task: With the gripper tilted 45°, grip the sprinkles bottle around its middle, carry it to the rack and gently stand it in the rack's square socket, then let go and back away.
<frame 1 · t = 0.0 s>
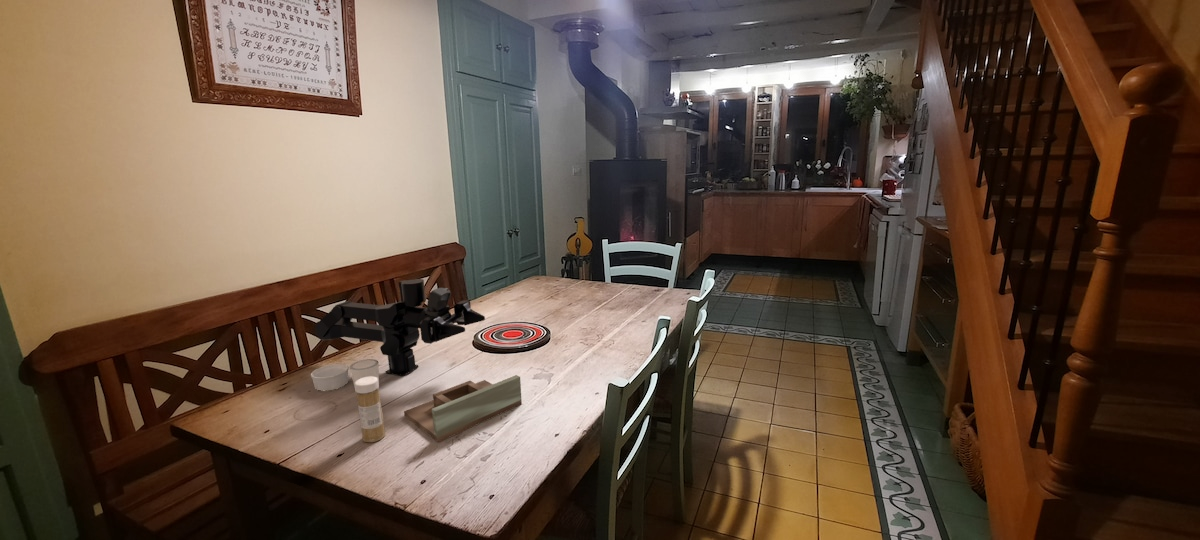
hand: (474, 323, 127), 17 cm above the table, tool horizontal, fingers open, 9 cm apart
ramekin: (332, 385, 131), on the table
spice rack: (464, 409, 116), on the table
sprinkles bottle: (374, 438, 106), on the table
shot glass: (367, 389, 128), on the table
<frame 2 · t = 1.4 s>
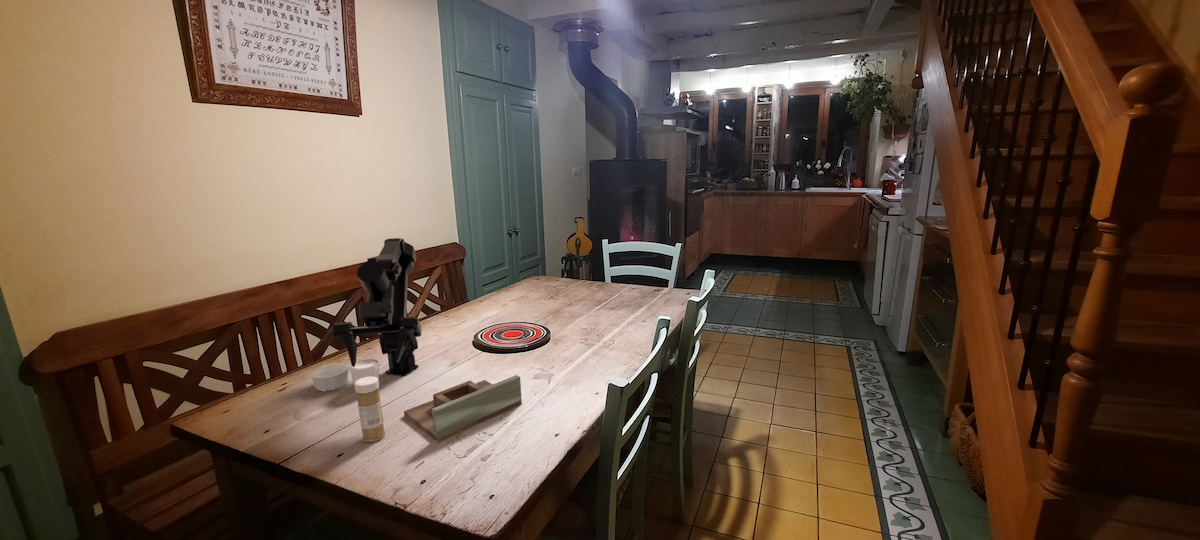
hand: (375, 364, 110), 14 cm above the table, tool tilted 45°, fingers open, 9 cm apart
nothing on the table moved.
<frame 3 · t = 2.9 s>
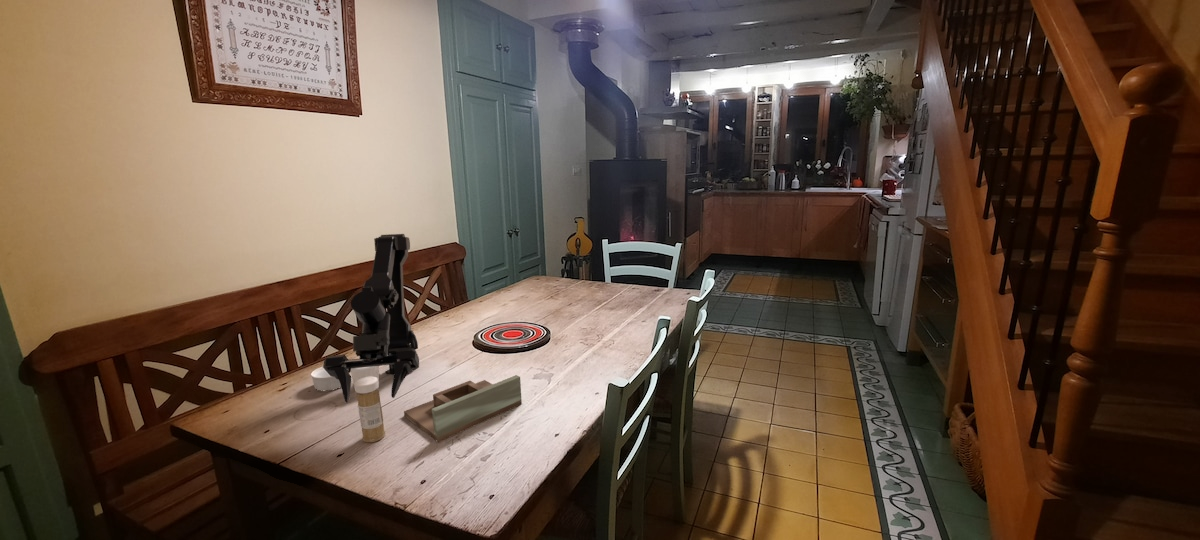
hand: (370, 399, 104), 9 cm above the table, tool tilted 45°, fingers open, 9 cm apart
nothing on the table moved.
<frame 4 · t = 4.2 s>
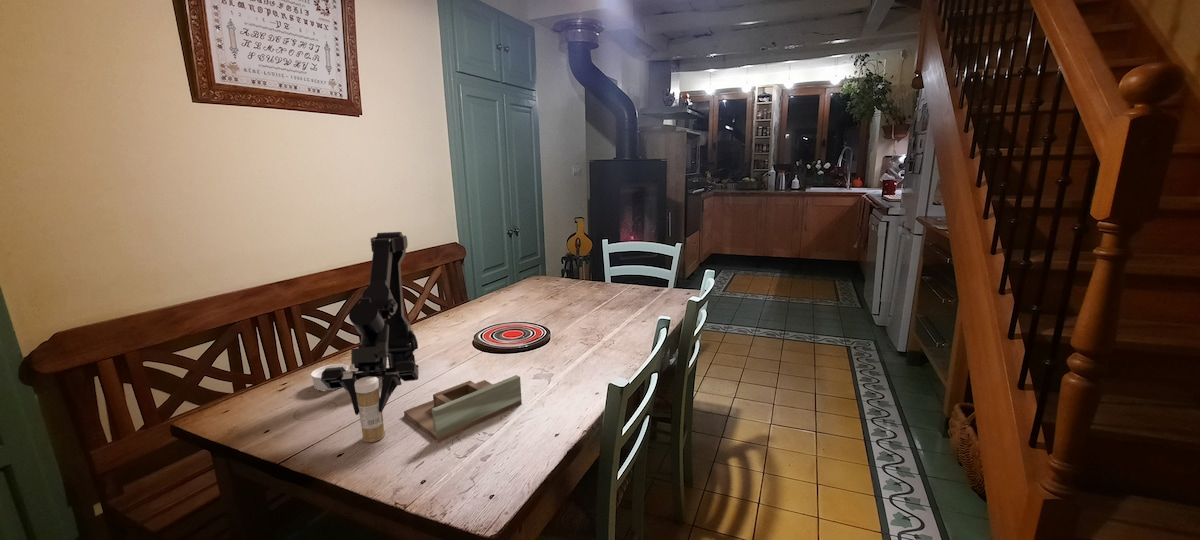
hand: (368, 413, 103), 7 cm above the table, tool tilted 45°, fingers closed on sprinkles bottle, 4 cm apart
sprinkles bottle: (374, 438, 106), on the table, touching gripper
everything else where it was.
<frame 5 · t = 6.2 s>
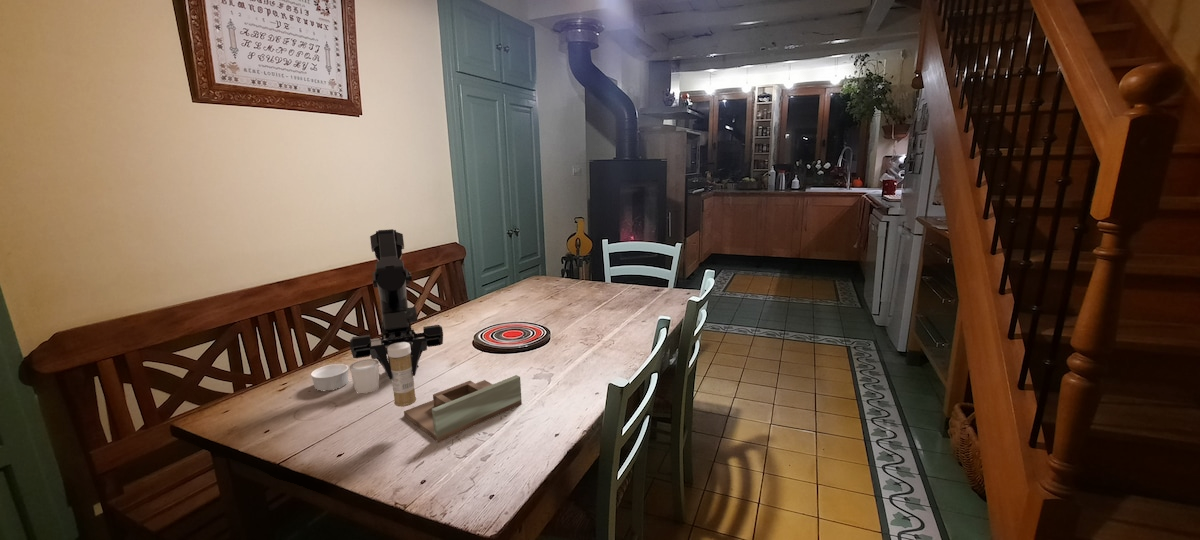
hand: (402, 377, 104), 13 cm above the table, tool tilted 45°, fingers closed on sprinkles bottle, 4 cm apart
sprinkles bottle: (405, 403, 107), point 6 cm above the table, touching gripper
everything else where it was.
when the fingers open (9 cm above the table, at t = 8.5 s): sprinkles bottle drops 1 cm, resting on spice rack.
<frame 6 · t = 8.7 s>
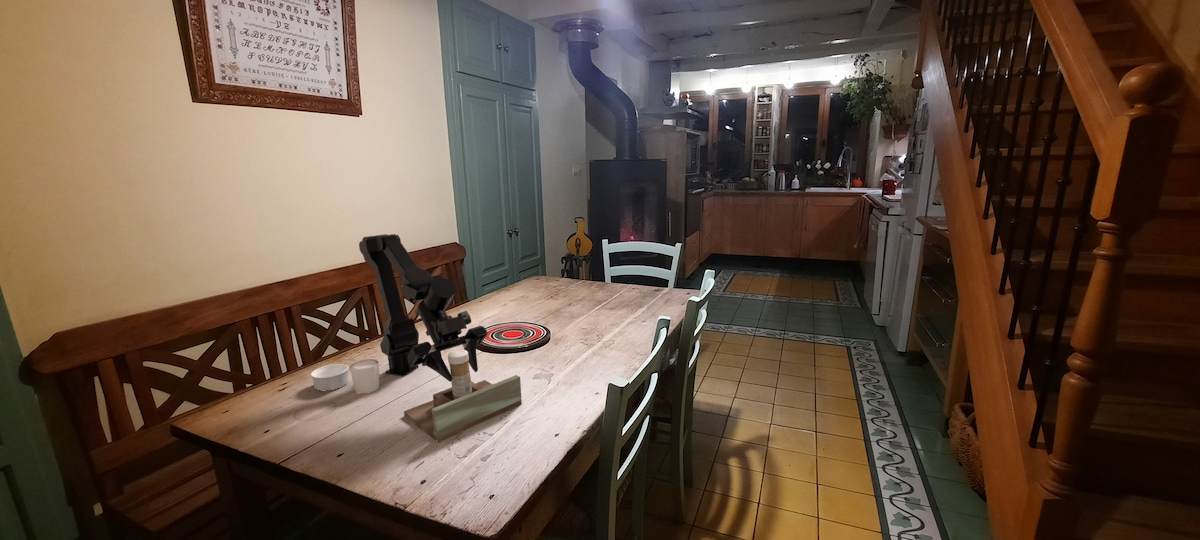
hand: (464, 375, 113), 9 cm above the table, tool tilted 45°, fingers open, 6 cm apart
sprinkles bottle: (463, 405, 116), point 1 cm above the table, touching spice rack
everything else where it was.
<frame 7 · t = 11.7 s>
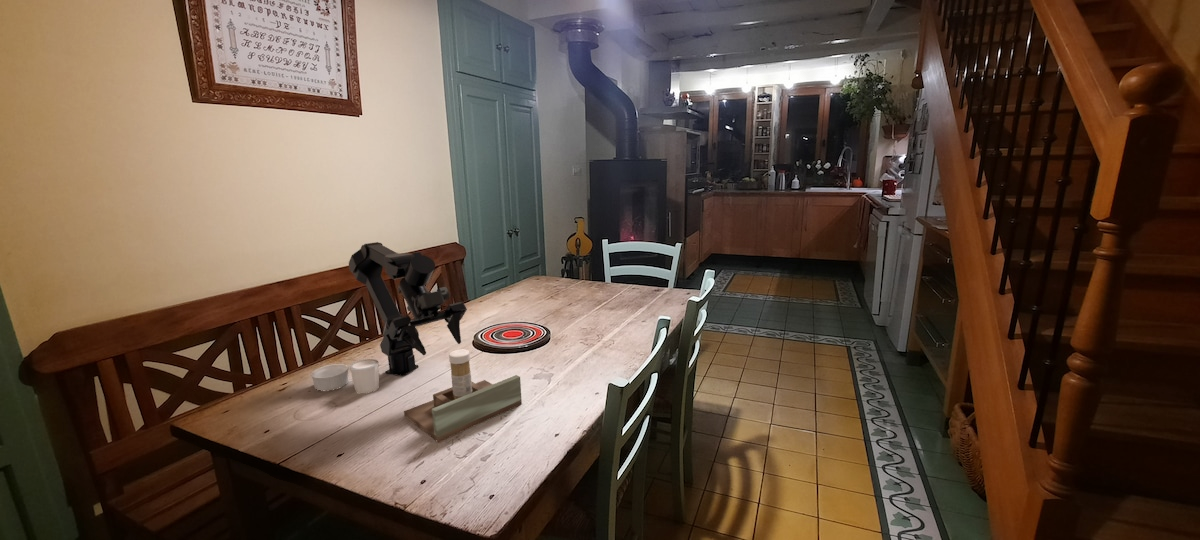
hand: (442, 348, 118), 14 cm above the table, tool tilted 45°, fingers open, 9 cm apart
nothing on the table moved.
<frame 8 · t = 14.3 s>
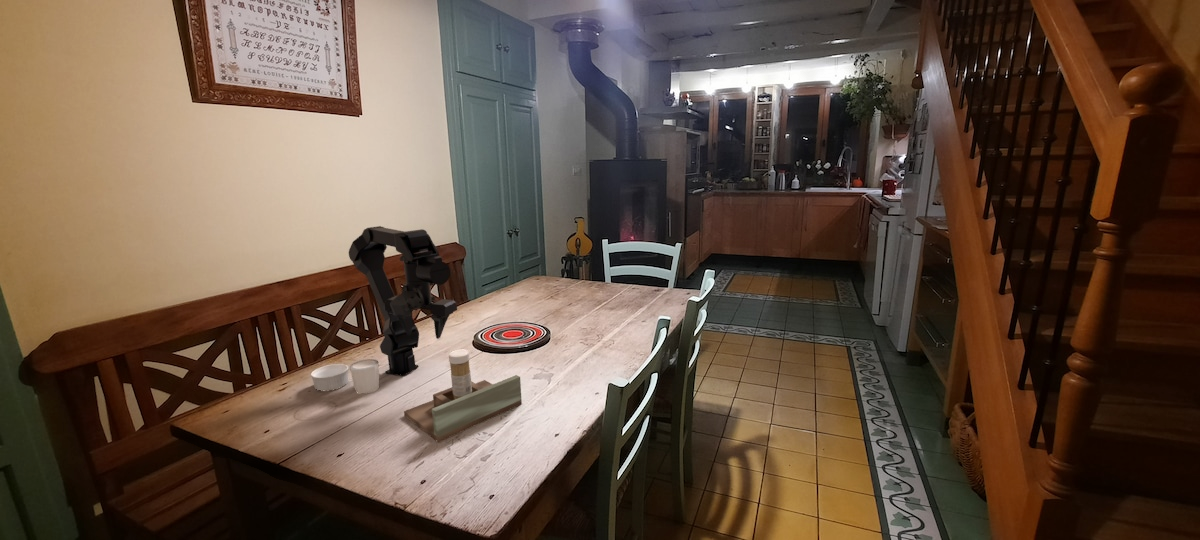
hand: (423, 336, 128), 13 cm above the table, tool pointing down, fingers open, 9 cm apart
nothing on the table moved.
at the end: sprinkles bottle 0.1 cm off-centre on the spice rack, point 1.0 cm above the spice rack's base; sprinkles bottle tilted 0°; the gripper is holding nothing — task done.
